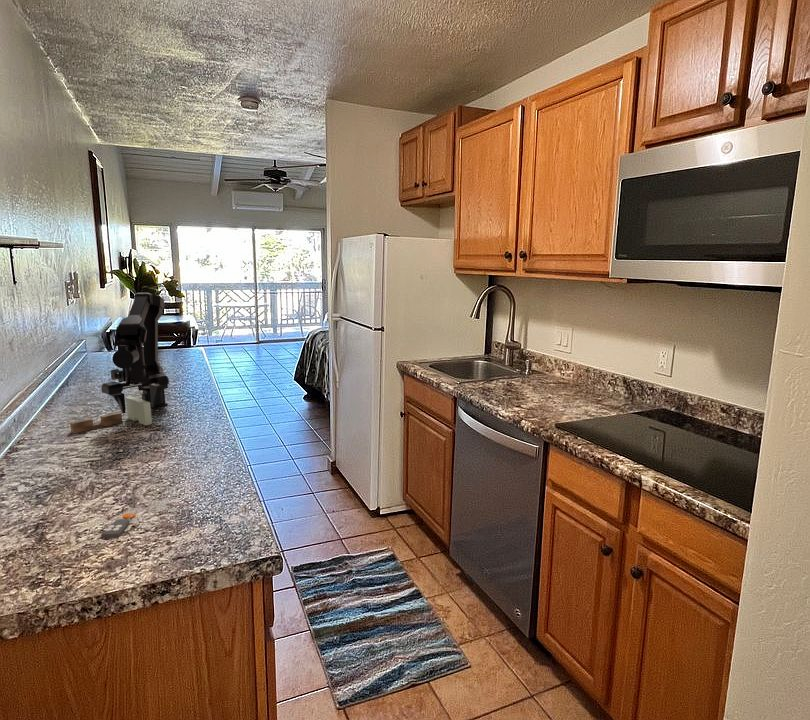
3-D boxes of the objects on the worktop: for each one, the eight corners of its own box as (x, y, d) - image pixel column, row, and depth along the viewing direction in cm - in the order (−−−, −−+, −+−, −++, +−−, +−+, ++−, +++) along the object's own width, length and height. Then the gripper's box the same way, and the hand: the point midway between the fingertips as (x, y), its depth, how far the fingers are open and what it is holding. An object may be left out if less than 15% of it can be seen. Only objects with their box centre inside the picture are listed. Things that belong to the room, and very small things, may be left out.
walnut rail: (119, 421, 167) (118, 412, 166) (122, 422, 165) (121, 413, 165) (71, 432, 156) (69, 422, 155) (73, 433, 155) (72, 423, 154)
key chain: (120, 539, 97) (120, 532, 97) (99, 540, 97) (99, 533, 96) (148, 507, 110) (147, 500, 109) (130, 507, 109) (129, 501, 109)
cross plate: (127, 418, 170) (125, 397, 168) (134, 416, 171) (132, 396, 170) (145, 425, 162) (143, 403, 161) (152, 423, 164) (150, 402, 163)
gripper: (150, 355, 175) (154, 399, 178) (91, 363, 161) (96, 412, 164) (168, 359, 169) (171, 405, 172) (107, 368, 154) (112, 418, 157)
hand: (138, 410), depth 166 cm, fingers open, 9 cm apart
